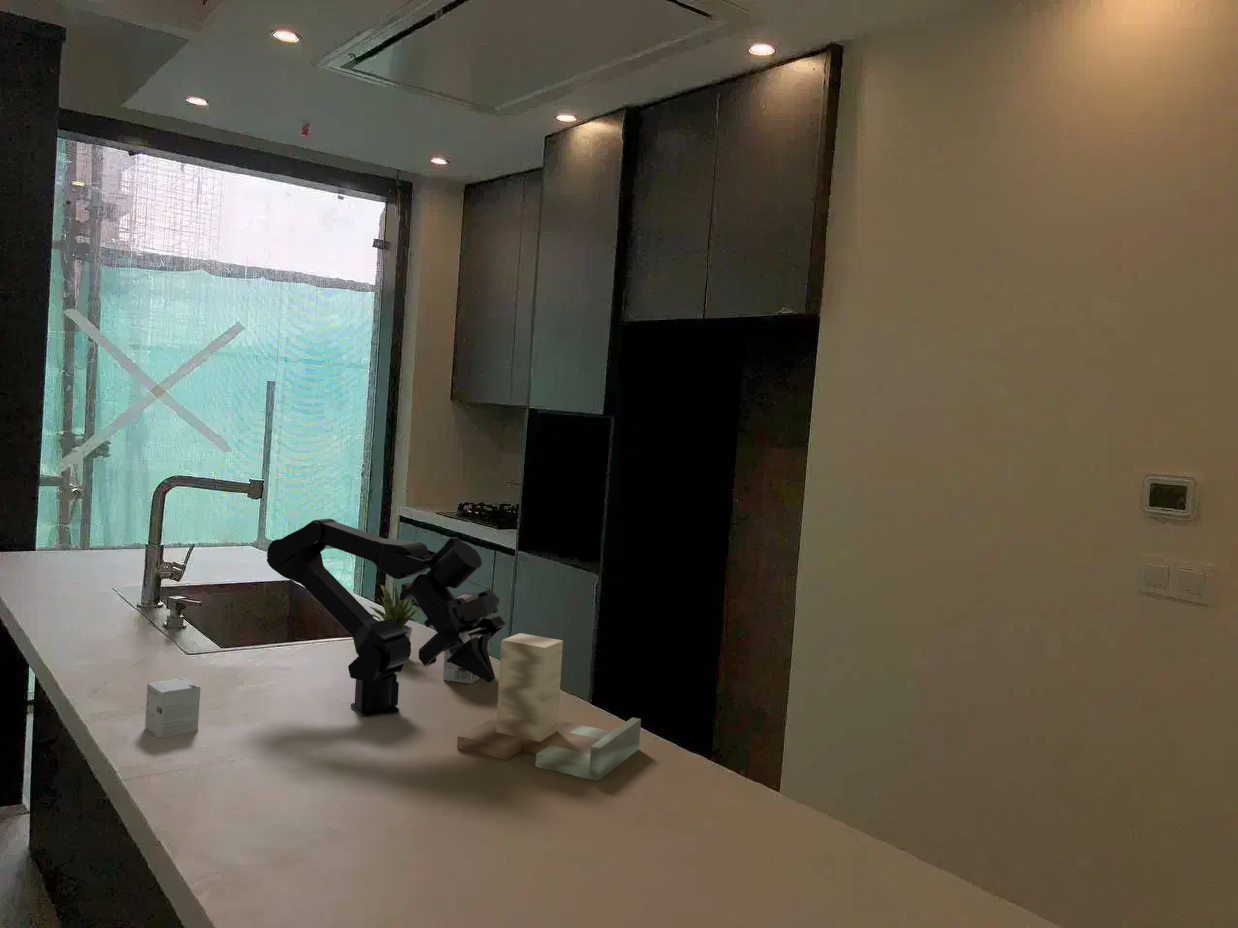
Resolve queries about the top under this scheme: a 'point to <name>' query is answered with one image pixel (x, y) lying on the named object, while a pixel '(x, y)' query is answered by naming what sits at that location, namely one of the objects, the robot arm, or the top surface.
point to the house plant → (396, 610)
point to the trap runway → (560, 747)
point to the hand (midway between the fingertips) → (492, 680)
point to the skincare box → (172, 707)
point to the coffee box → (450, 670)
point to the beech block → (529, 686)
